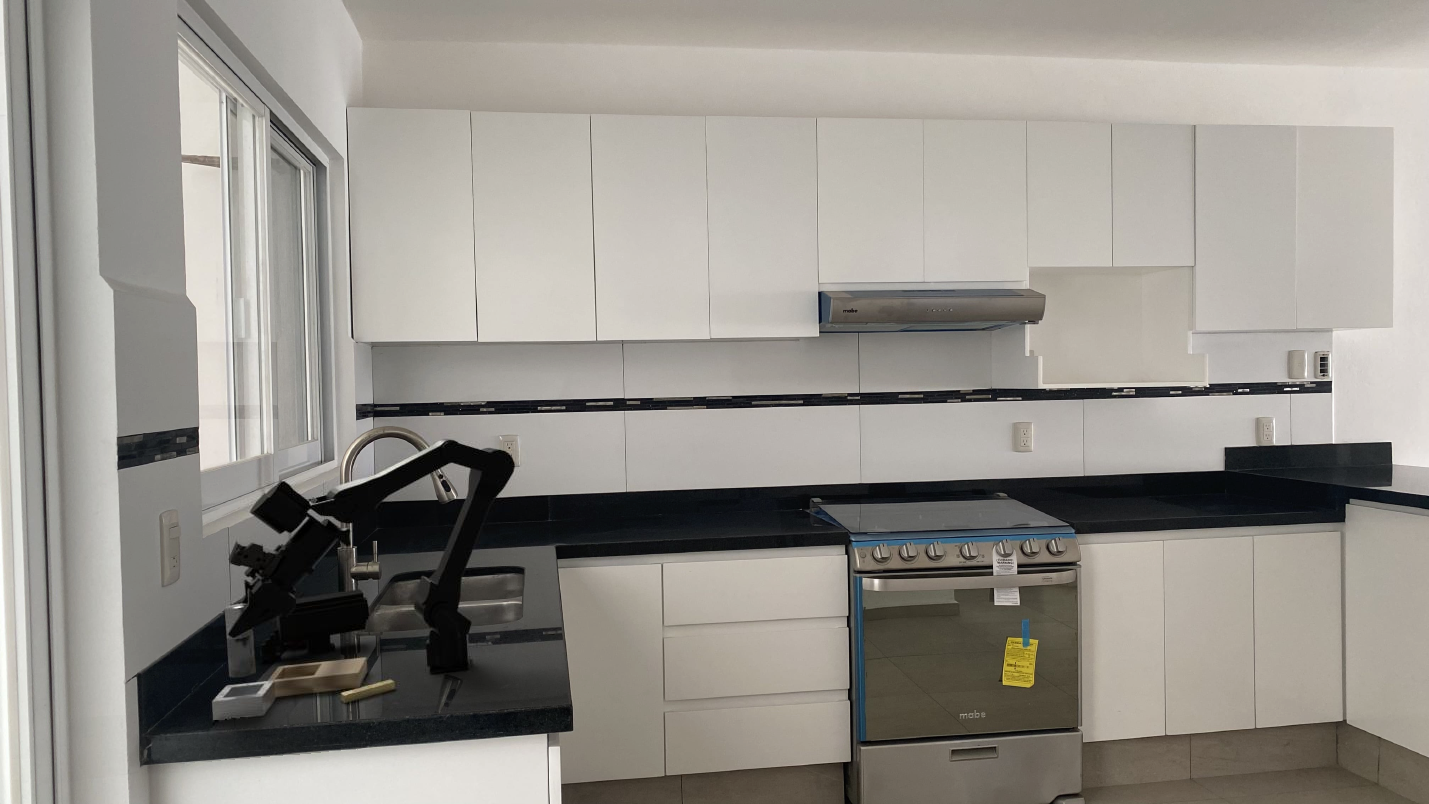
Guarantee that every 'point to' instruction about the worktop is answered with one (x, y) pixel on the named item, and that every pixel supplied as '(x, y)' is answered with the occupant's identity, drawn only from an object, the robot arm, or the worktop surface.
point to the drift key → (367, 691)
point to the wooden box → (319, 676)
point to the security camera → (317, 622)
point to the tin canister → (239, 645)
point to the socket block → (244, 700)
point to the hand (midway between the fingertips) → (229, 633)
